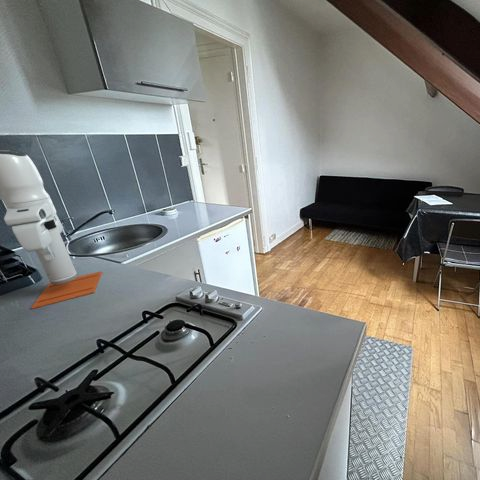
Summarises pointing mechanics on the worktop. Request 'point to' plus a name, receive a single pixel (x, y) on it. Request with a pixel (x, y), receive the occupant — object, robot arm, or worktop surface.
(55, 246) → the travel mug
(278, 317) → the worktop surface
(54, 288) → the drying mat
